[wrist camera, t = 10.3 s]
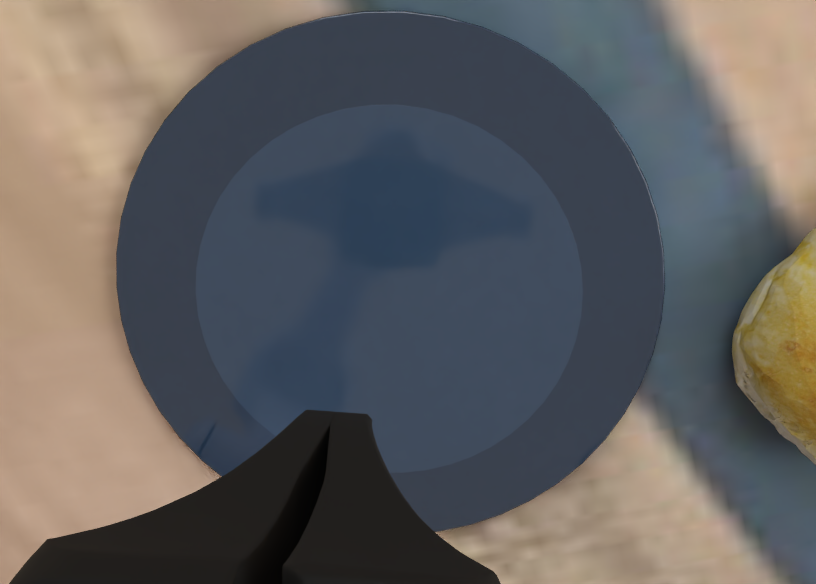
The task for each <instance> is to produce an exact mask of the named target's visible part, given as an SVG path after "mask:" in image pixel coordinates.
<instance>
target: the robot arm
mask: <svg viewBox="0 0 816 584" xmlns="http://www.w3.org/2000/svg"><path fill="white" fill-rule="evenodd" d="M9 584H500V581H499V579H498V577H497V575H496V574H495V573H494V572H493V571H492V570H490V569H488V568H486V567H485V566H483V565H481V564H479V563H478V562H476V561H474V560H472V559H471V558H469V557H467V556H465V555H464V554H462V553H461V552H459V551H458V550H457V549H455V548H454V547H452V546H451V545H450V544H448V543H447V542H446V541H444V540H443V539H442V538H441V537H440V536H438V535H437V534H436V533H435V532H434V531H433V530H432V529H431V528H430V527H429V526H428V525H427V524H426V523H425V522H424V521H423V520H422V519H421V518H420V517H419V516H418V515H417V513H416V512H415V511H414V510H413V508H412V507H411V506H410V505H409V503H408V502H407V501H406V499H405V498H404V496H403V495H402V493H401V492H400V490H399V489H398V487H397V485H396V484H395V482H394V480H393V478H392V477H391V475H390V473H389V471H388V469H387V467H386V465H385V463H384V461H383V458H382V456H381V454H380V452H379V449H378V446H377V443H376V440H375V437H374V433H373V429H372V419H371V418H370V417H369V415H368V414H360V413H347V412H333V411H319V410H305V411H304V412H303V413H302V414H300V415H299V416H298V417H297V418H296V419H295V420H293V421H292V422H291V423H290V424H289V425H288V426H287V427H286V428H285V429H284V430H282V431H281V432H280V433H279V434H278V435H277V436H276V437H275V438H273V439H272V440H271V441H270V442H269V443H267V444H266V445H265V446H264V447H263V448H261V449H260V450H259V451H258V452H257V453H255V454H254V455H253V456H251V457H250V458H248V459H247V460H246V461H244V462H243V463H242V464H240V465H239V466H237V467H236V468H235V469H233V470H232V471H230V472H229V473H227V474H226V475H224V476H222V477H221V478H219V479H217V480H216V481H214V482H212V483H210V484H209V485H207V486H205V487H203V488H201V489H200V490H198V491H196V492H194V493H192V494H190V495H187V496H185V497H183V498H181V499H178V500H176V501H174V502H172V503H169V504H167V505H165V506H163V507H160V508H158V509H156V510H153V511H151V512H148V513H145V514H142V515H139V516H137V517H134V518H131V519H128V520H124V521H121V522H118V523H115V524H112V525H108V526H104V527H101V528H97V529H93V530H88V531H84V532H80V533H75V534H71V535H66V536H62V537H57V538H52V539H47V540H46V541H45V542H44V543H43V544H42V546H41V547H40V548H39V549H38V550H37V551H36V552H35V553H34V554H33V555H32V556H31V557H30V559H29V560H28V561H27V562H26V563H25V564H24V566H23V567H22V568H21V569H20V571H19V572H18V573H17V574H16V576H15V577H14V578H13V579H12V581H11V582H10V583H9Z"/></svg>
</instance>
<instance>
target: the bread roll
mask: <svg viewBox="0 0 816 584" xmlns="http://www.w3.org/2000/svg"><path fill="white" fill-rule="evenodd" d="M732 356H733V363H734V369H735V379H736V383H737V385H738V386H739V387H740V388H741V390H742V391H743V392H744V394H745V395H746V396H747V397H748V399H749V400H750V401H751V402H752V403H753V404H754V406H755V407H756V408H757V409H758V411H759V412H760V413H761V414H762V415H763V416H764V417H765V418H766V419H768V420H769V421H770V422H771V423H772V424H773V425H775V427H776V429H777V431H778V432H779V434H782V436H783V437H785V438H786V439H787V440H789V441H790V442H792V443H794V444H795V445H796V446H797V447H798V449H799V450H800V452H801V453H802V454H804V455H805V456H807V457H808V458H809V459H810V460H811V461H812V462H813V463H814V464H815V465H816V227H815V228H814V229H813V230H812V231H810V232H809V233H808V235H807V236H806V237H805V238H804V239H803V241H802V242H801V243H800V245H799V246H798V247H797V248H796V250H795V251H794V252H793V253H792V255H790V256H789V257H788V258H786V259H785V260H783V261H782V262H781V263H779V264H778V265H777V266H775V267H774V268H773V269H772V270H771V271H770V272H768V273H767V274H766V275H765V277H764V278H763V279H762V281H761V282H760V283H759V284H758V286H757V287H756V288H755V290H754V291H753V293H752V294H751V296H750V298H749V299H748V301H747V303H746V305H745V306H744V308H743V310H742V312H741V315H740V318H739V321H738V324H737V326H736V328H735V331H734V334H733V340H732Z"/></svg>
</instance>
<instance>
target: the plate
mask: <svg viewBox="0 0 816 584" xmlns="http://www.w3.org/2000/svg"><path fill="white" fill-rule="evenodd" d="M116 265H117V293H118V300H119V308H120V315H121V321H122V325H123V328H124V332H125V335H126V339H127V343H128V346H129V350H130V353H131V355H132V358H133V360H134V362H135V365H136V367H137V369H138V372H139V374H140V377H141V379H142V381H143V383H144V385H145V387H146V389H147V390H148V392H149V394H150V395H151V397H152V399H153V401H154V402H155V404H156V406H157V407H158V409H159V411H160V412H161V414H162V415H163V416H164V418H165V419H166V420H167V421H168V423H169V424H170V425H171V427H172V428H173V429H174V431H175V432H176V433H177V435H178V436H179V437H180V438H181V439H182V440H183V441H184V442H185V443H186V444H187V446H188V447H189V448H190V449H191V450H192V451H193V452H194V453H195V454H196V455H197V456H198V457H199V458H200V459H201V460H202V461H203V462H204V463H206V464H207V465H208V466H209V467H211V468H212V469H213V470H214V471H216V472H217V473H218V474H219V475H220V476H224V475H226V474H227V473H229V472H230V471H232V470H233V469H235V468H236V467H237V466H239V465H240V464H242V463H243V462H244V461H246V460H247V459H248V458H250V457H251V456H253V455H254V454H255V453H257V452H258V451H259V450H260V449H261V448H263V447H264V446H265V445H266V444H267V443H269V442H270V441H271V440H272V439H273V438H275V437H276V436H277V435H278V434H279V433H280V432H281V431H282V430H284V429H285V428H286V427H287V426H288V425H289V424H290V423H291V422H292V421H293V420H295V419H296V418H297V417H298V416H299V415H300V414H302V413H303V412H304V411H305V410H319V411H333V412H347V413H360V414H368V415H369V417H370V418H371V419H372V429H373V433H374V437H375V440H376V443H377V446H378V449H379V452H380V454H381V456H382V458H383V461H384V463H385V465H386V467H387V469H388V471H389V473H390V475H391V477H392V478H393V480H394V482H395V484H396V485H397V487H398V489H399V490H400V492H401V493H402V495H403V496H404V498H405V499H406V501H407V502H408V503H409V505H410V506H411V507H412V508H413V510H414V511H415V512H416V513H417V515H418V516H419V517H420V518H421V519H422V520H423V521H424V522H425V523H426V524H427V525H428V526H429V527H430V528H431V529H432V530H433V531H434V532H439V531H444V530H449V529H453V528H458V527H463V526H467V525H471V524H474V523H477V522H480V521H483V520H486V519H489V518H492V517H495V516H498V515H501V514H503V513H505V512H507V511H509V510H512V509H514V508H516V507H518V506H520V505H522V504H524V503H526V502H528V501H530V500H532V499H534V498H535V497H537V496H538V495H540V494H542V493H543V492H545V491H546V490H548V489H550V488H551V487H553V486H554V485H556V484H557V483H559V482H560V481H561V480H562V479H564V478H565V477H566V476H567V475H569V474H570V473H571V472H572V471H573V470H575V469H576V468H577V467H578V466H580V465H581V464H582V463H583V462H584V461H585V460H586V459H587V458H588V457H589V456H590V455H591V454H592V453H593V452H594V451H595V450H596V449H597V448H598V447H599V445H600V444H601V443H602V442H603V441H604V440H605V439H606V438H607V436H608V435H609V434H610V432H611V431H612V430H613V428H614V427H615V426H616V424H617V423H618V422H619V420H620V419H621V418H622V416H623V415H624V414H625V412H626V410H627V408H628V406H629V405H630V403H631V401H632V399H633V397H634V396H635V394H636V392H637V390H638V389H639V387H640V385H641V383H642V380H643V377H644V375H645V372H646V370H647V367H648V365H649V362H650V360H651V357H652V355H653V352H654V348H655V344H656V340H657V336H658V332H659V328H660V324H661V318H662V309H663V300H664V291H665V272H664V249H663V244H662V238H661V232H660V226H659V221H658V216H657V212H656V209H655V206H654V203H653V200H652V197H651V194H650V191H649V188H648V185H647V182H646V180H645V177H644V175H643V173H642V171H641V169H640V167H639V165H638V163H637V161H636V159H635V157H634V155H633V153H632V151H631V149H630V147H629V146H628V144H627V143H626V141H625V140H624V138H623V137H622V135H621V134H620V133H619V131H618V130H617V128H616V127H615V125H614V124H613V122H612V121H611V119H610V118H609V117H608V115H607V114H606V113H605V112H604V111H603V110H602V109H601V108H600V107H599V106H598V104H597V103H596V102H595V101H594V100H593V99H592V98H591V97H590V96H589V95H588V93H587V92H586V91H585V90H584V89H583V88H582V87H581V86H579V85H578V84H577V83H576V82H575V81H573V80H572V79H571V78H570V77H568V76H567V75H566V74H565V73H564V72H562V71H561V70H560V69H559V68H558V67H556V66H555V65H554V64H553V63H551V62H549V61H548V60H546V59H545V58H543V57H541V56H540V55H538V54H536V53H535V52H533V51H532V50H530V49H528V48H527V47H525V46H523V45H522V44H520V43H518V42H516V41H514V40H511V39H509V38H507V37H505V36H502V35H500V34H498V33H495V32H493V31H491V30H488V29H486V28H484V27H481V26H477V25H474V24H470V23H467V22H463V21H459V20H456V19H452V18H449V17H445V16H439V15H431V14H424V13H416V12H409V11H361V12H355V13H348V14H341V15H335V16H328V17H323V18H319V19H316V20H313V21H309V22H306V23H303V24H299V25H296V26H293V27H289V28H286V29H284V30H281V31H279V32H277V33H275V34H273V35H271V36H268V37H266V38H264V39H262V40H260V41H258V42H256V43H253V44H251V45H249V46H248V47H246V48H245V49H243V50H242V51H240V52H239V53H237V54H235V55H234V56H232V57H231V58H229V59H228V60H226V61H225V62H223V63H222V64H220V65H219V66H217V67H216V68H215V69H214V70H213V71H211V72H210V73H209V74H208V75H207V76H206V77H205V78H204V79H202V80H201V81H200V82H199V83H198V84H197V85H196V86H194V87H193V88H192V89H191V90H190V91H189V92H188V93H187V94H186V95H185V97H184V98H183V99H182V100H181V101H180V102H179V104H178V105H177V106H176V107H175V108H174V109H173V111H172V112H171V113H170V114H169V115H168V116H167V118H166V119H165V120H164V122H163V123H162V125H161V126H160V128H159V130H158V131H157V133H156V134H155V136H154V138H153V139H152V141H151V142H150V144H149V146H148V147H147V149H146V150H145V152H144V155H143V157H142V159H141V161H140V164H139V166H138V168H137V170H136V173H135V175H134V177H133V179H132V182H131V184H130V188H129V191H128V195H127V198H126V202H125V206H124V209H123V213H122V216H121V222H120V229H119V237H118V244H117V252H116Z"/></svg>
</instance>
